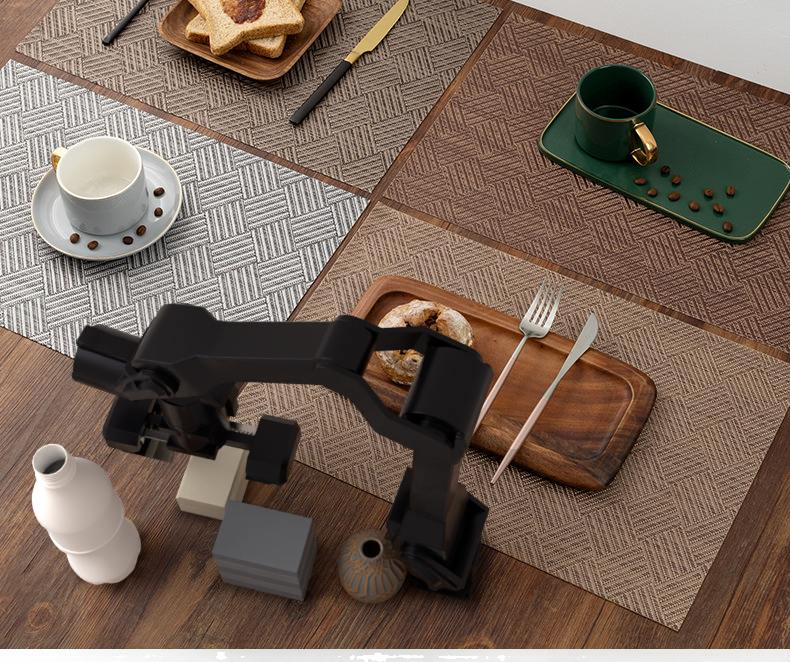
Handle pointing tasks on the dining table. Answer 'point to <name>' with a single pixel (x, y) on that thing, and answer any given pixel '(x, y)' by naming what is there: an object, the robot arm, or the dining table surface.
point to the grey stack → (266, 550)
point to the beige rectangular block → (236, 496)
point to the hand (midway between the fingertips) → (213, 467)
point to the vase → (370, 567)
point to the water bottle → (84, 515)
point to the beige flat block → (212, 479)
